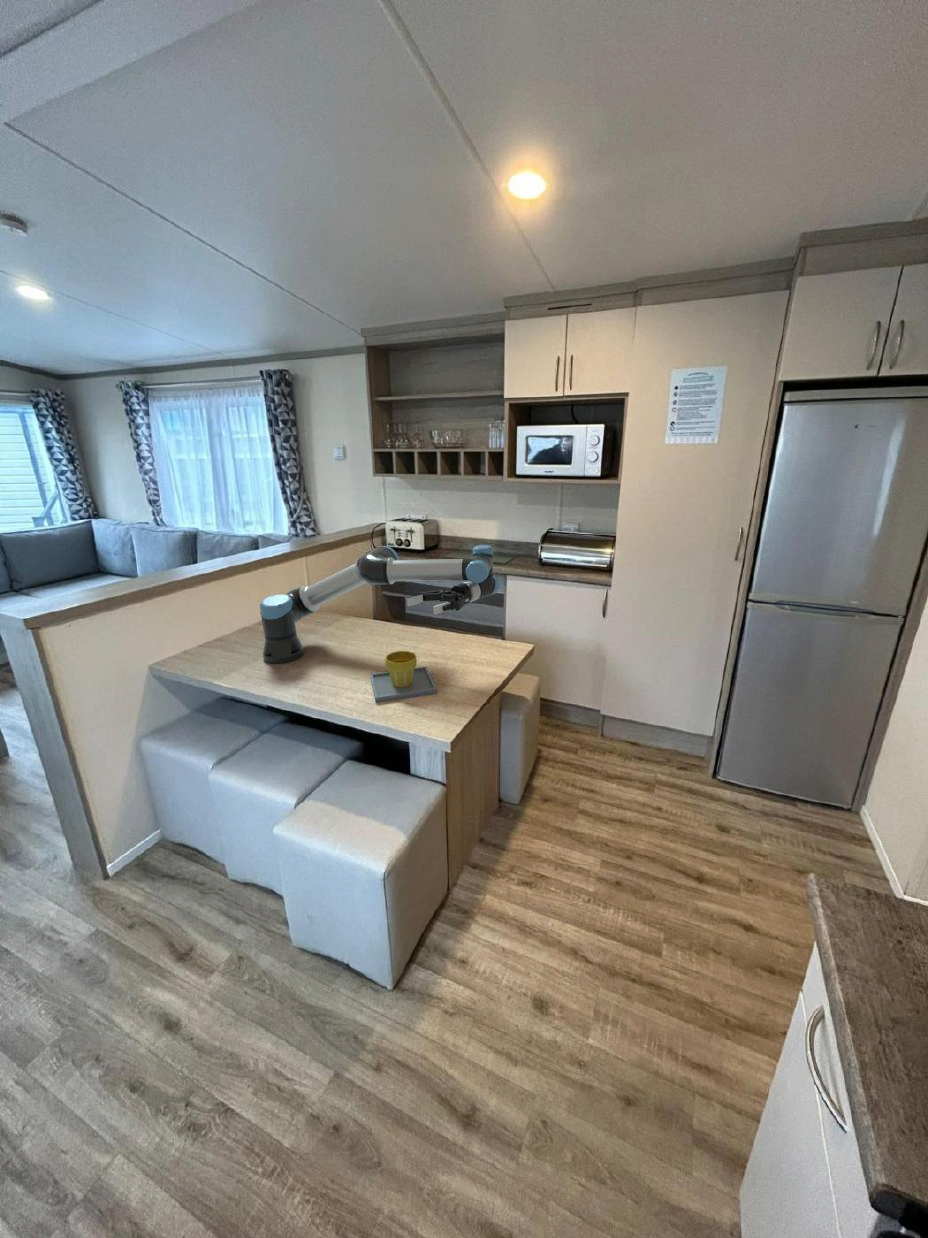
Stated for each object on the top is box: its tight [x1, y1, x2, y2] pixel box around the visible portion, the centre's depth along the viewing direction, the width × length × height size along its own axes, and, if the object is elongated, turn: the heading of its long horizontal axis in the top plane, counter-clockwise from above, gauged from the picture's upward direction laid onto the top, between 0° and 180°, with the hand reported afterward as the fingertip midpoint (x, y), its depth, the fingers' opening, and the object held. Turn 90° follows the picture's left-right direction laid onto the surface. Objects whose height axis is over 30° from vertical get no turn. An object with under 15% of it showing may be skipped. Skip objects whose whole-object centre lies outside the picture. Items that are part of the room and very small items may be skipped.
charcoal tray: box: [369, 666, 438, 704], centre depth 164 cm, size 20×18×2 cm
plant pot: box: [384, 650, 417, 687], centre depth 162 cm, size 10×10×10 cm
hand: (420, 606), depth 162 cm, fingers open, 13 cm apart
